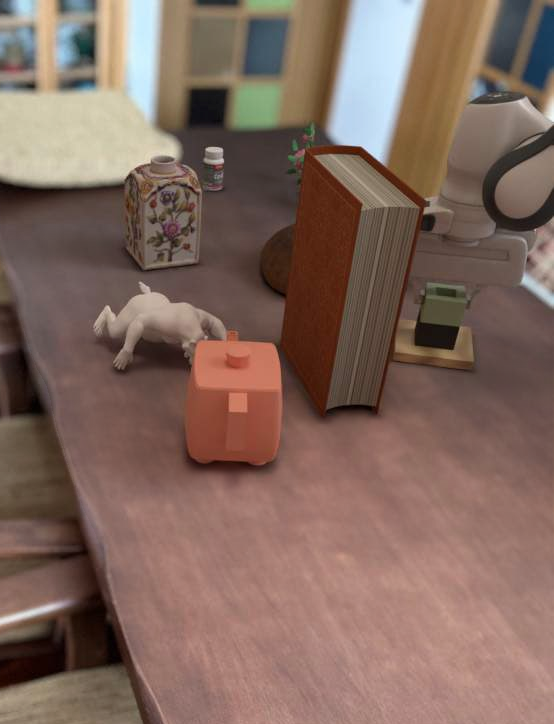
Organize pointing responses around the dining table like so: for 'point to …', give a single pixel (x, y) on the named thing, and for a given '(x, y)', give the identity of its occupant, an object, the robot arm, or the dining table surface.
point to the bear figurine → (158, 324)
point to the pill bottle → (213, 168)
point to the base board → (432, 349)
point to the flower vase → (299, 157)
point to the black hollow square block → (435, 335)
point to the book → (348, 274)
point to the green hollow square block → (443, 304)
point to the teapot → (234, 401)
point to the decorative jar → (163, 214)
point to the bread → (278, 258)
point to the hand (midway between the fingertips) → (442, 305)
